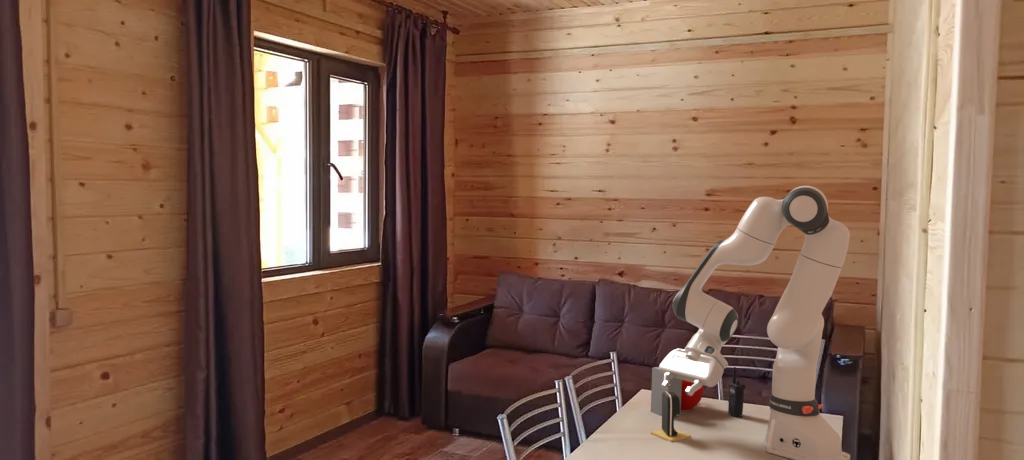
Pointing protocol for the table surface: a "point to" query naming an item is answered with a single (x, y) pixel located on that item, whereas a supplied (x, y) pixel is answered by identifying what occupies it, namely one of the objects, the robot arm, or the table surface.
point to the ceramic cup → (687, 400)
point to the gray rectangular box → (662, 390)
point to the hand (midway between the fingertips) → (675, 390)
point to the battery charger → (669, 412)
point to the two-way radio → (736, 396)
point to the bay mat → (677, 437)
